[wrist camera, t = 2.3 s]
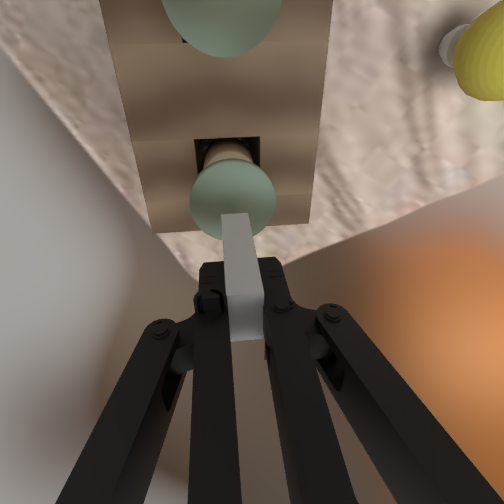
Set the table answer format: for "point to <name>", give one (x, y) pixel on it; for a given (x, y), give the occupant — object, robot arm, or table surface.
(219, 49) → the near plunger
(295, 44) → the socket block
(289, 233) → the table surface
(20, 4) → the table surface
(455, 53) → the yellow light bulb
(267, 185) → the far plunger
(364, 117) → the table surface
